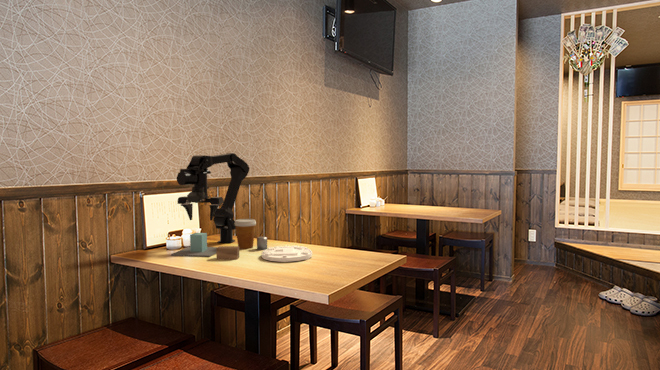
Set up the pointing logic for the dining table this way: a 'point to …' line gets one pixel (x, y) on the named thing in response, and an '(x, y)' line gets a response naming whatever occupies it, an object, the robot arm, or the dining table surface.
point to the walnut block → (227, 252)
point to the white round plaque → (286, 253)
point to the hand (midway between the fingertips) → (200, 220)
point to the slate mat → (186, 252)
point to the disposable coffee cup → (245, 232)
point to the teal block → (198, 242)
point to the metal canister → (261, 243)
